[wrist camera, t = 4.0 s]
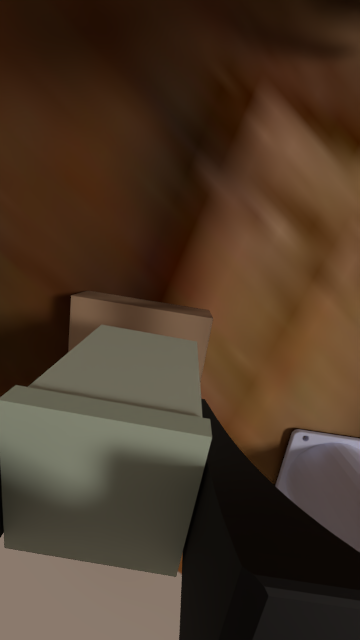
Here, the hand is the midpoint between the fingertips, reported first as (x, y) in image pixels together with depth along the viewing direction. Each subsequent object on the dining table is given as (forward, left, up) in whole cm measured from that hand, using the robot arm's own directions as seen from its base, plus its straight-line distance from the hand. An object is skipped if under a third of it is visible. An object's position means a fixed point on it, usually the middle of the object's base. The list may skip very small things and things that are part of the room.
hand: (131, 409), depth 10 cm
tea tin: (0, -1, -2) cm, 2 cm away
